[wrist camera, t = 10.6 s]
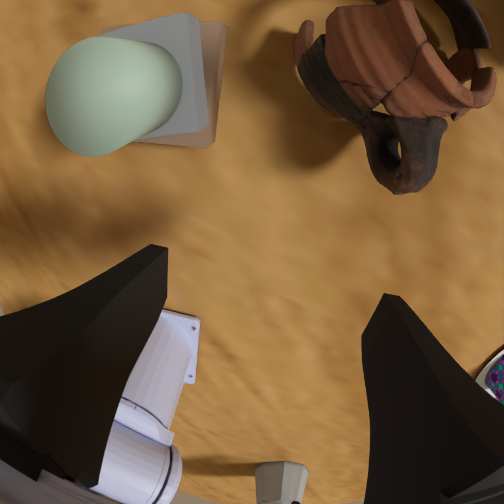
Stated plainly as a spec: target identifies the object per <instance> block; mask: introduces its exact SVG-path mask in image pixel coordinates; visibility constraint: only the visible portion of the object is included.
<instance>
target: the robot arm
mask: <svg viewBox="0 0 504 504" xmlns="http://www.w3.org/2000/svg"><path fill="white" fill-rule="evenodd" d="M167 275H168V248H167V247H162V246H157V245H153V244H150V245H148V246H146V247H145V248H143V249H141V250H140V251H138V252H137V253H135V254H133V255H132V256H130V257H128V258H127V259H125V260H124V261H122V262H120V263H119V264H117V265H115V266H114V267H112V268H110V269H109V270H107V271H106V272H104V273H102V274H100V275H98V276H97V277H95V278H93V279H91V280H89V281H88V282H86V283H84V284H82V285H80V286H78V287H76V288H75V289H72V290H70V291H68V292H66V293H64V294H62V295H60V296H57V297H55V298H53V299H50V300H48V301H45V302H43V303H40V304H37V305H35V306H32V307H29V308H26V309H24V310H21V311H18V312H14V313H11V314H8V315H4V316H0V504H169V503H170V501H171V500H172V498H173V497H174V495H175V493H176V491H177V488H178V486H179V483H180V479H181V475H182V459H181V457H180V453H179V450H178V448H177V447H176V446H174V445H172V444H171V443H172V440H173V436H174V433H173V432H171V431H170V430H169V428H170V426H171V423H172V419H173V416H174V413H175V410H176V407H177V404H178V400H179V397H180V394H181V391H182V388H183V385H184V383H188V384H194V383H195V378H196V365H197V353H198V341H199V330H200V321H199V319H197V318H196V317H192V316H188V315H184V314H180V313H176V312H172V311H168V310H164V309H163V306H164V304H165V301H166V298H167ZM192 326H194V327H192ZM361 339H362V365H363V372H364V379H365V386H366V393H367V401H368V408H369V416H370V456H369V470H368V479H367V486H366V493H365V499H364V504H504V405H503V404H501V403H500V402H499V401H498V400H496V399H495V398H494V397H493V396H492V395H490V394H489V393H488V392H487V391H486V390H485V389H483V388H482V387H481V386H480V385H479V384H478V383H477V382H476V381H475V380H474V379H473V378H472V377H471V376H470V375H469V374H468V373H467V372H466V371H465V370H464V369H463V368H462V367H461V366H460V365H459V364H458V363H457V362H456V361H455V360H454V359H453V357H452V356H451V355H450V354H449V353H448V352H447V351H446V350H445V348H444V347H443V346H442V345H441V344H440V343H439V341H438V340H437V339H436V338H435V337H434V335H433V334H432V333H431V332H430V331H429V329H428V328H427V327H426V326H425V324H424V323H423V322H422V321H421V320H420V318H419V317H418V316H417V315H416V314H415V312H414V311H413V310H412V309H411V308H410V307H409V306H408V304H407V303H406V302H405V301H404V300H403V299H402V298H401V297H400V296H396V295H391V294H386V293H384V294H383V296H382V298H381V300H380V302H379V304H378V306H377V308H376V310H375V312H374V313H373V315H372V317H371V319H370V321H369V323H368V325H367V326H366V328H365V330H364V332H363V334H362V335H361Z"/></svg>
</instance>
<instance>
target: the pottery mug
mask: <svg viewBox="0 0 504 504" xmlns="http://www.w3.org/2000/svg"><path fill="white" fill-rule="evenodd" d="M373 1H375V2H376V3H377V4H378V5H375V6H373V5H361V6H357V5H352V6H341V7H337V8H335V10H334V11H333V12H332V13H331V14H330V15H329V16H328V18H327V19H326V34H321V35H320V36H319V37H318V38H317V39H316V40H315V42H314V43H313V29H314V22H313V21H311V20H305V21H304V22H303V23H302V25H301V27H300V29H299V32H298V33H297V35H296V37H295V42H294V56H295V61H296V65H297V68H298V73H299V75H300V77H301V79H302V81H303V83H304V85H305V87H306V88H307V90H308V91H309V92H310V93H311V95H312V96H313V97H314V99H315V100H316V101H317V102H318V103H319V104H320V105H322V106H323V107H324V108H326V109H327V110H329V111H331V112H332V113H334V114H336V115H338V116H340V117H342V118H345V119H346V120H348V121H350V122H353V123H354V124H356V125H358V129H359V131H360V132H361V134H362V136H363V139H364V142H365V146H366V151H367V157H368V162H369V165H370V168H371V171H372V173H373V175H374V177H375V178H376V180H377V181H378V182H379V183H380V184H381V185H383V186H384V187H386V188H387V189H389V190H390V191H391V192H392V193H393V194H394V195H401V194H405V193H410V192H415V193H416V192H418V191H420V190H422V189H423V188H424V187H425V186H426V185H427V184H428V183H429V182H430V181H431V179H432V178H433V176H434V174H435V171H436V168H437V164H438V154H439V147H440V141H441V138H442V135H443V134H444V132H445V131H446V130H447V127H448V124H447V121H446V120H445V119H444V118H442V117H446V116H450V114H451V118H452V120H453V121H455V120H458V119H460V118H461V117H462V116H464V115H465V114H466V113H467V112H468V111H469V110H470V108H481V107H484V106H486V105H487V104H488V103H490V101H491V99H492V97H493V96H494V92H495V88H496V72H495V71H494V69H493V68H492V67H486V68H482V67H481V61H480V57H479V54H478V49H479V48H485V49H490V48H491V41H490V38H489V35H488V32H487V30H486V28H485V25H484V24H483V22H482V19H481V17H480V16H479V14H478V12H477V11H476V9H475V7H474V6H473V4H472V3H471V1H470V0H434V1H435V2H436V3H437V4H438V5H439V6H440V7H441V9H442V10H443V11H444V12H445V14H446V15H447V17H448V18H449V20H450V23H451V25H452V28H453V31H454V35H455V39H456V43H457V47H458V51H457V52H456V53H455V54H453V56H452V57H451V58H450V59H449V60H448V61H447V67H448V69H447V68H446V66H445V65H444V64H443V62H442V61H441V60H440V58H439V57H438V55H437V53H436V52H435V50H434V48H433V47H432V45H431V44H430V43H429V42H428V41H427V36H426V34H425V32H424V30H423V28H422V26H421V24H420V21H419V19H418V17H417V14H416V12H415V9H414V5H413V4H412V2H411V0H373ZM470 79H471V88H470V90H469V89H467V88H465V87H464V86H463V85H462V84H464V83H465V82H466V81H468V80H470ZM379 103H382V104H383V105H384V107H385V109H386V111H387V112H388V113H389V114H390V115H388V114H385V113H380V112H377V111H372V109H373V108H375V107H376V106H377V105H379ZM399 142H400V146H401V158H400V156H399V153H398V143H399Z"/></svg>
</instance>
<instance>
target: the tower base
mask: <svg viewBox="0 0 504 504" xmlns="http://www.w3.org/2000/svg"><path fill="white" fill-rule="evenodd" d="M131 25H134V24H127V25H118V26H110V27H102V32H101V35H102V34H105V33H108V32H111V31H114V30H118V29H121V28H124V27H127V26H131ZM199 25H200V37H201V48H202V59H203V69H204V80H205V90H206V100H207V109H208V119H209V126H207V127H206V128H204V129H202V130H201V131H199V132H191V133H182V134H174V135H166V136H158V137H151V138H144V139H138V140H134V141H132V142H145V143H157V144H169V145H179V146H189V147H198V148H208V147H209V146H210V145H211V144H212V143H214V142H215V136H216V126H217V117H218V108H219V99H220V90H221V82H222V74H223V66H224V58H225V51H226V43H227V36H228V29H229V28H228V27H227V26H226V25H224V24H223V23H222V22H199Z"/></svg>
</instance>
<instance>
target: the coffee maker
mask: <svg viewBox="0 0 504 504" xmlns="http://www.w3.org/2000/svg"><path fill="white" fill-rule="evenodd" d="M308 472H309V470H308V469H307V468H306V467H305V466H304V465H303V464H298V463H292V462H287V461H278V462H263V463H262V464H260V465H258V466H257V467H255V481H256V500H257V504H301V502H302V498H303V493H304V489H305V485H306V481H307V476H308Z"/></svg>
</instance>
